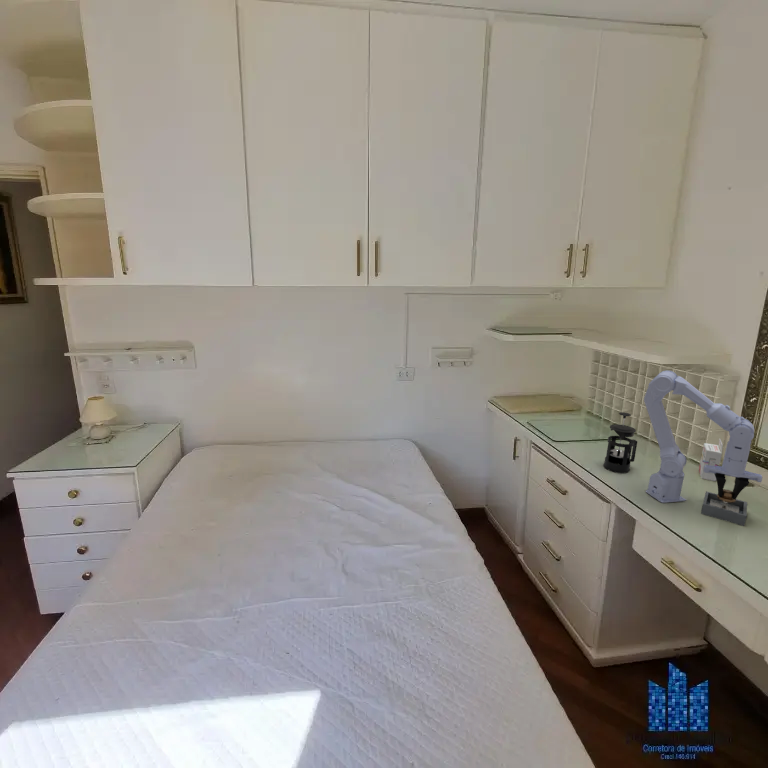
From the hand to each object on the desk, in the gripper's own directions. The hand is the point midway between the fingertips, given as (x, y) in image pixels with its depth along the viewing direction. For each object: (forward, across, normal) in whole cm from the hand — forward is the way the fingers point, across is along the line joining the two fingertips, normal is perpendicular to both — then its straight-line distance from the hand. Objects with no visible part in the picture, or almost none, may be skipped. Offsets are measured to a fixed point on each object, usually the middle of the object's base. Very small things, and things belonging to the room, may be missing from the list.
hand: (726, 496), depth 140 cm
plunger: (+5, 0, 0) cm, 5 cm away
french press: (+6, +31, -21) cm, 37 cm away
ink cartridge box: (+6, 0, -30) cm, 31 cm away
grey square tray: (+6, 0, 0) cm, 6 cm away
